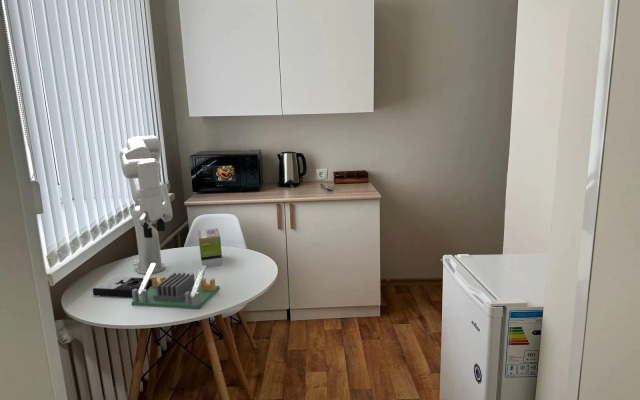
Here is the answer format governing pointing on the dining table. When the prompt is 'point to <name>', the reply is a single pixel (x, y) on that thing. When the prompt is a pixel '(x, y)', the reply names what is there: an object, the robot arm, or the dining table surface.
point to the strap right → (198, 281)
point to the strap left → (146, 278)
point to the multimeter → (119, 287)
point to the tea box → (210, 247)
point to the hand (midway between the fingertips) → (155, 234)
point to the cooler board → (175, 292)
